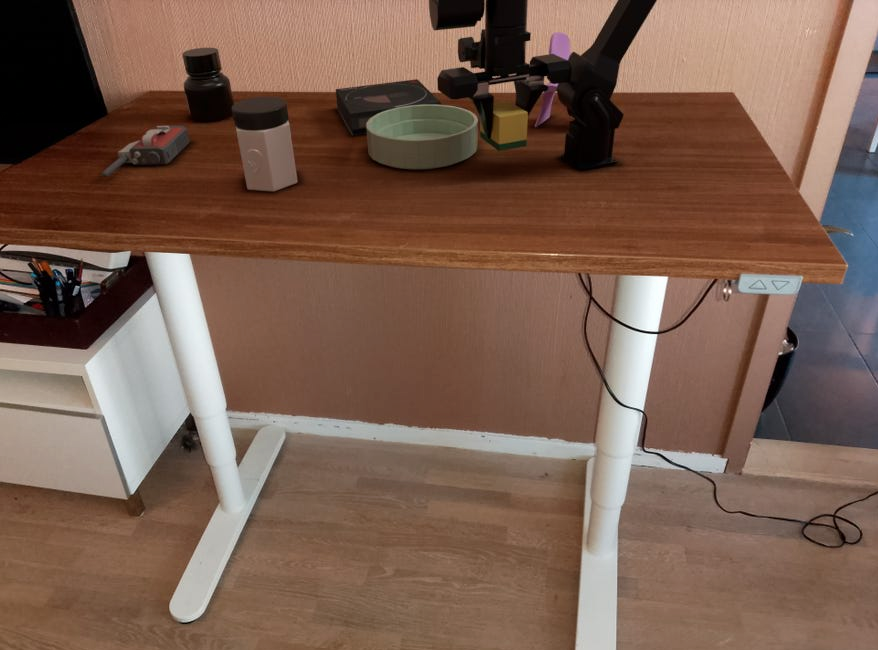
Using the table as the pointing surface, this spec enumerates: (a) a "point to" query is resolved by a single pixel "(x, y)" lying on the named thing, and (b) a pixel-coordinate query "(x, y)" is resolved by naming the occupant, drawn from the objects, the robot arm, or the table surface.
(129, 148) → the walkie-talkie
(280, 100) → the jar
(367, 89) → the portable cd player
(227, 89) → the ink bottle
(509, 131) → the sponge
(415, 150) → the bowl
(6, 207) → the table surface
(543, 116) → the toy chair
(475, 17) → the robot arm
